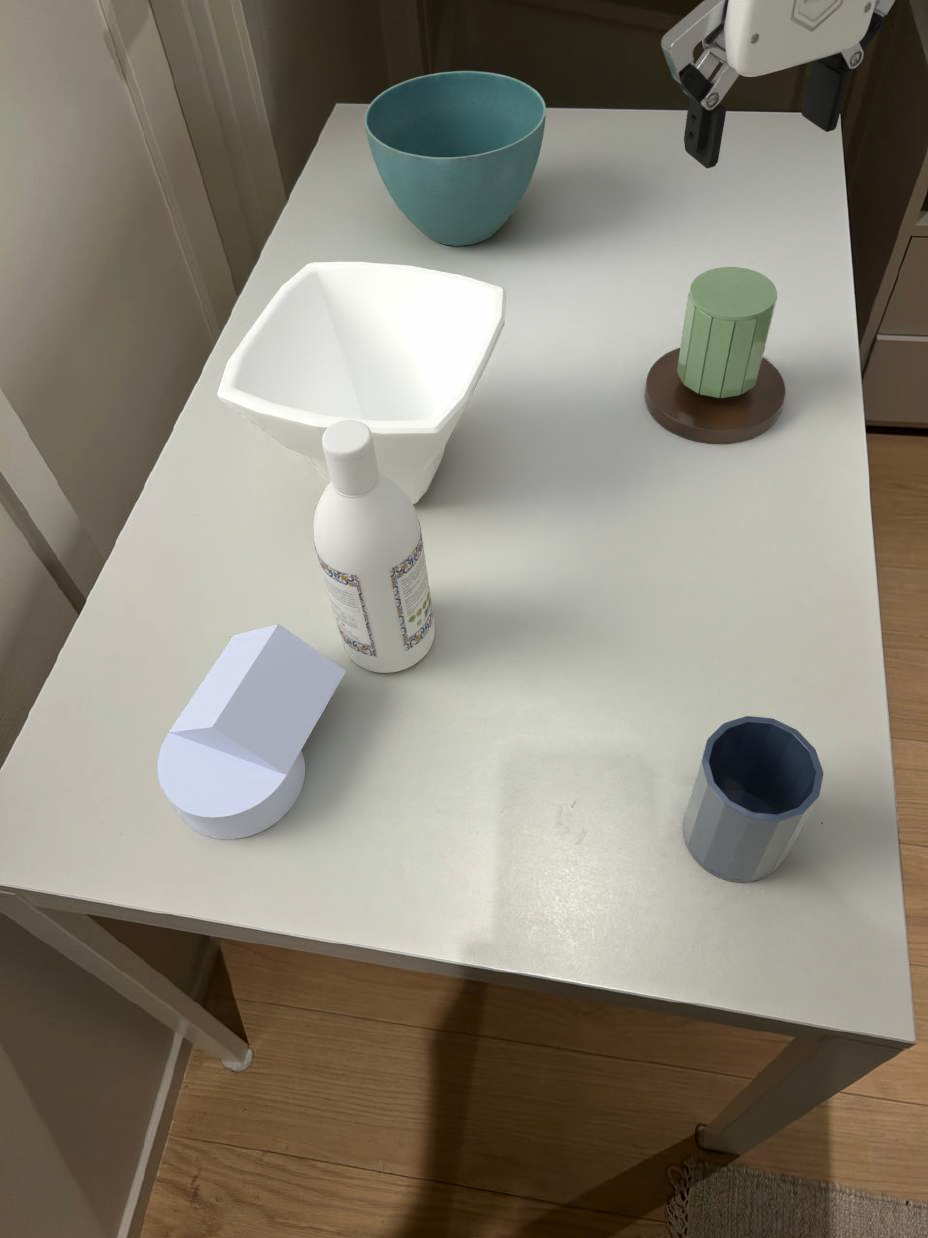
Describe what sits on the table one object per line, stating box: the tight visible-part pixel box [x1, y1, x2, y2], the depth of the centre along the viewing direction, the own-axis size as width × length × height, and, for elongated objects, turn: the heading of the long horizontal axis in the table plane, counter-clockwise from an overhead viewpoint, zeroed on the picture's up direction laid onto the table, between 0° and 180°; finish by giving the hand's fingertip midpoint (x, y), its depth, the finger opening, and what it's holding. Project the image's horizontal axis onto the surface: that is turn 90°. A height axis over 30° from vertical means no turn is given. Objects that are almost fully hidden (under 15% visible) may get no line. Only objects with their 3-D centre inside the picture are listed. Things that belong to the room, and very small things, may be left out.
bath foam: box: [312, 420, 436, 674], centre depth 61 cm, size 7×7×20 cm
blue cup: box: [682, 715, 824, 883], centre depth 55 cm, size 6×6×9 cm
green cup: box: [677, 266, 778, 398], centre depth 78 cm, size 7×7×8 cm
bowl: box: [217, 261, 507, 505], centre depth 74 cm, size 19×19×14 cm
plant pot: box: [363, 70, 547, 247], centre depth 98 cm, size 18×18×12 cm
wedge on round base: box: [156, 623, 347, 841], centre depth 62 cm, size 9×7×13 cm
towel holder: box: [644, 347, 786, 445], centre depth 79 cm, size 12×12×10 cm
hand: (759, 140), depth 65 cm, fingers open, 9 cm apart
